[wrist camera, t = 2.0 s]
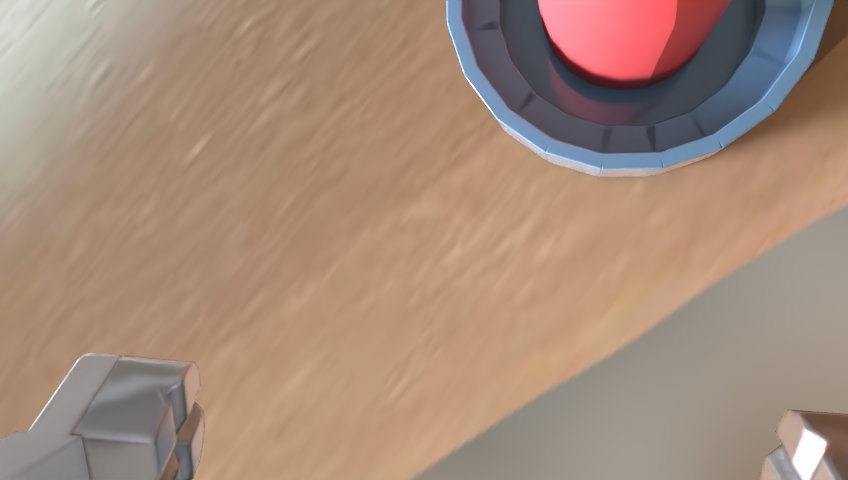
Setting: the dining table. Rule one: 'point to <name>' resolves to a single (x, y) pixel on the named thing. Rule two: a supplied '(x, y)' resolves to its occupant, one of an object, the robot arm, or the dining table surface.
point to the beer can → (628, 37)
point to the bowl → (642, 107)
